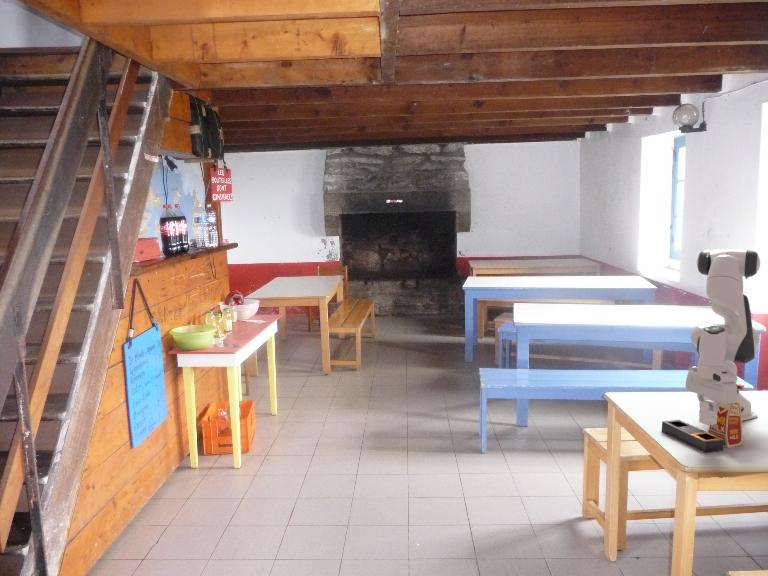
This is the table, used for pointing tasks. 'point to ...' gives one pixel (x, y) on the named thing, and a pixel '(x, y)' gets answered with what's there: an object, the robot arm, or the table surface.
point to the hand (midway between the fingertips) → (708, 409)
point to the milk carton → (728, 424)
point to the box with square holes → (693, 436)
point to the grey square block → (707, 413)
